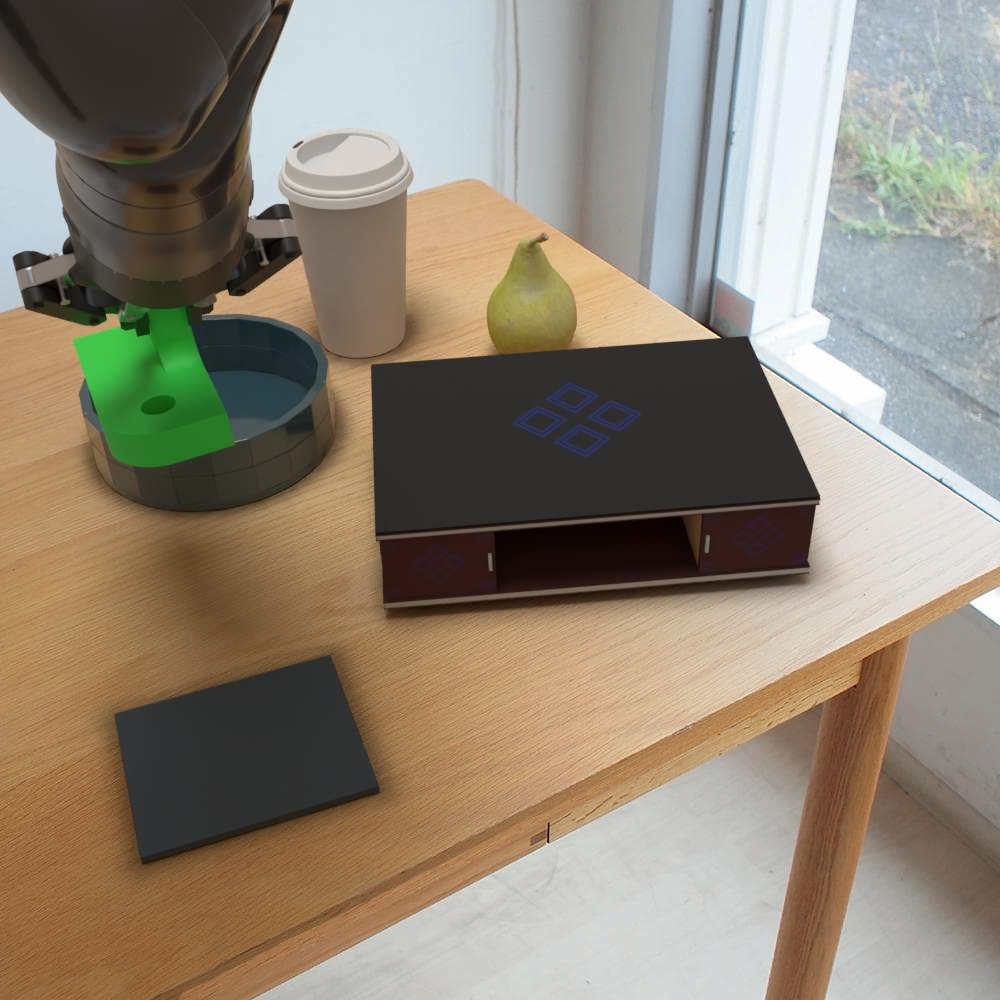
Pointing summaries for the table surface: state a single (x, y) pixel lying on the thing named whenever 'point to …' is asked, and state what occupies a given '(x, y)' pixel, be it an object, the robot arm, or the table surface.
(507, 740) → the table surface
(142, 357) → the mechanical part
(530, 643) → the table surface
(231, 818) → the mat
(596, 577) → the miniature tv stand
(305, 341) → the pot
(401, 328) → the coffee cup
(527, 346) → the fruit
